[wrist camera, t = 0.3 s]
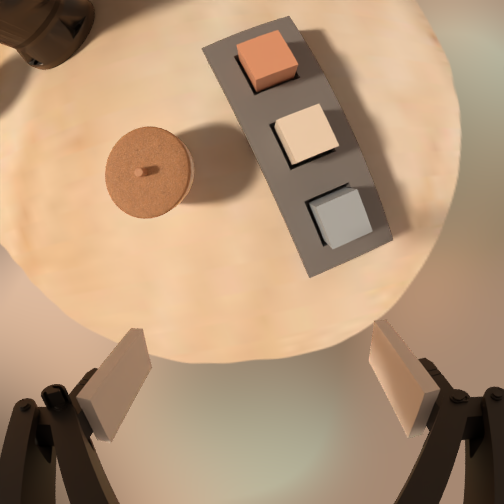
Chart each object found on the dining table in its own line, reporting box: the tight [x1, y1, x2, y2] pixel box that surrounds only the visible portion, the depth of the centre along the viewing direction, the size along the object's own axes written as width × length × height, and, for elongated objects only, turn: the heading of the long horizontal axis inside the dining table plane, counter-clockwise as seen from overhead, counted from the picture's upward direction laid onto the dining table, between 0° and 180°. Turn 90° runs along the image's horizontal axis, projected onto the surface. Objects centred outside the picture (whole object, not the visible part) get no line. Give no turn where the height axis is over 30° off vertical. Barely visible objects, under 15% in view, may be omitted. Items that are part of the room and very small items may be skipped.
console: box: [202, 16, 393, 278], centre depth 35 cm, size 32×12×5 cm, turn 25°
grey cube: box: [309, 187, 372, 249], centre depth 34 cm, size 5×5×5 cm
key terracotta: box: [237, 30, 298, 92], centre depth 29 cm, size 5×5×5 cm
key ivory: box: [274, 104, 339, 165], centre depth 31 cm, size 5×5×5 cm
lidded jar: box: [105, 127, 194, 218], centre depth 35 cm, size 11×11×9 cm
